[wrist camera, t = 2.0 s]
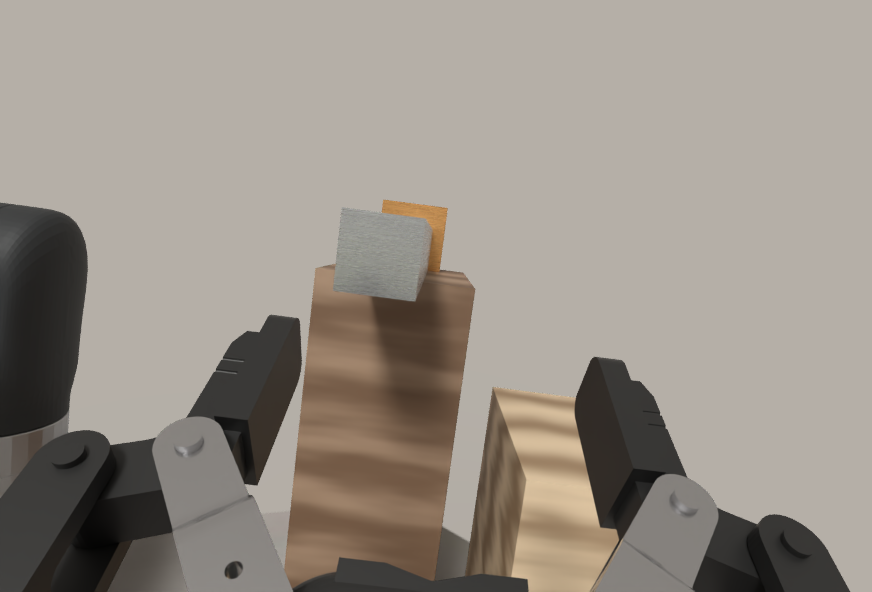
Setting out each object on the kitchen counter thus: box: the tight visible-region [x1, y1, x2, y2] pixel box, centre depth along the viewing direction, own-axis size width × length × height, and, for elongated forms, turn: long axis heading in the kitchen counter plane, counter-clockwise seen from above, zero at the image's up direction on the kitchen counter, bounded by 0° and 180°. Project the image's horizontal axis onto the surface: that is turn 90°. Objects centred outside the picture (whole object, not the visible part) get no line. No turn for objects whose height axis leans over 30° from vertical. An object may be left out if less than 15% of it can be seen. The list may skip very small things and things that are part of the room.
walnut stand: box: [284, 264, 475, 588], centre depth 41 cm, size 16×10×32 cm, turn 0°
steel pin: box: [333, 200, 447, 302], centre depth 34 cm, size 26×6×6 cm, turn 0°
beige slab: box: [465, 387, 619, 592], centre depth 38 cm, size 18×8×22 cm, turn 0°
